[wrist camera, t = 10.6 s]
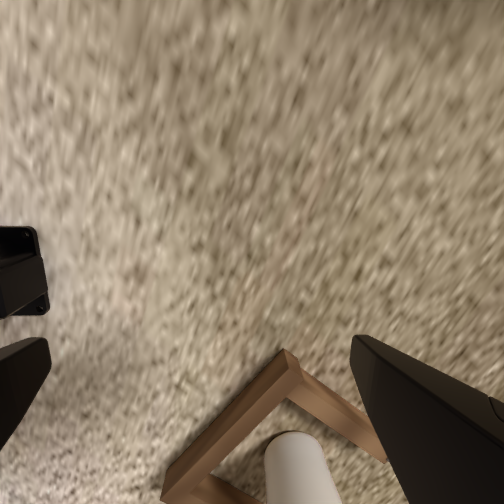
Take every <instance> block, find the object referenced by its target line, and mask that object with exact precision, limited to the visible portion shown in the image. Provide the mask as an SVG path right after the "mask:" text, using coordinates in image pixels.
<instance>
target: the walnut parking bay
mask: <svg viewBox="0 0 504 504" xmlns="http://www.w3.org/2000/svg"><path fill="white" fill-rule="evenodd" d="M285 397H287V398H288V399H290V400H291V401H293V402H294V403H296V404H297V405H299V406H300V407H302V408H303V409H304V410H306V411H307V412H309V413H310V414H312V415H313V416H315V417H316V418H318V419H319V420H320V421H322V422H323V423H325V424H326V425H328V426H329V427H331V428H332V429H334V430H335V431H337V432H338V433H339V434H341V435H342V436H344V437H345V438H347V439H348V440H350V441H351V442H353V443H354V444H356V445H357V446H358V447H360V448H361V449H363V450H364V451H366V452H367V453H369V454H370V455H372V456H373V457H375V458H376V459H377V460H379V461H380V462H382V463H383V464H385V463H386V462H387V461H388V462H389V460H388V458H387V455H386V453H385V451H384V449H383V447H382V445H381V443H380V441H379V438H378V436H377V434H376V432H375V430H374V428H373V426H372V424H371V421H370V419H369V417H368V416H367V415H365V414H364V413H363V412H361V411H360V410H358V409H357V408H356V407H354V406H353V405H351V404H350V403H349V402H347V401H346V400H345V399H343V398H342V397H340V396H339V395H338V394H336V393H335V392H333V391H332V390H331V389H329V388H328V387H327V386H325V385H324V384H322V383H321V382H320V381H318V380H317V379H316V378H314V377H313V376H311V375H310V374H309V373H307V372H306V371H304V370H303V369H302V368H300V365H299V362H298V359H297V358H296V357H295V356H294V355H292V354H291V353H289V352H288V351H287V350H285V349H283V350H282V351H281V352H280V353H279V354H278V355H277V356H276V357H275V358H274V359H273V360H272V361H271V362H270V363H269V364H268V365H267V366H266V367H265V368H264V369H263V370H262V371H261V373H260V374H259V375H258V376H257V377H256V378H255V379H254V380H253V381H252V382H251V383H250V384H249V385H248V386H247V387H246V388H245V389H244V390H243V391H242V392H241V393H240V394H239V396H238V397H237V398H236V399H235V400H234V401H233V402H232V403H231V404H230V405H229V406H228V407H227V408H226V409H225V410H224V411H223V412H222V413H221V414H220V415H219V416H218V417H217V418H216V420H215V421H214V422H213V423H212V424H211V425H210V426H209V427H208V428H207V429H206V430H205V431H204V432H203V433H202V434H201V435H200V436H199V437H198V438H197V439H196V440H195V441H194V442H193V444H192V445H191V446H190V447H189V448H188V449H187V450H186V451H185V452H184V453H183V454H182V455H181V456H180V457H179V458H178V459H177V460H176V461H175V462H174V463H173V464H172V465H171V466H170V468H169V469H168V470H167V472H166V476H165V480H164V484H163V489H162V493H161V497H160V501H162V502H164V503H166V504H263V503H261V502H259V501H257V500H256V499H254V498H252V497H250V496H249V495H247V494H245V493H243V492H242V491H240V490H238V489H236V488H234V487H233V486H231V485H229V484H227V483H226V482H224V481H222V480H220V479H219V478H217V477H215V476H213V475H212V474H210V472H211V471H212V470H213V469H214V468H215V467H216V466H217V465H218V464H219V463H220V462H221V461H222V460H223V459H224V458H225V457H226V456H227V455H228V454H229V453H230V452H231V451H232V450H233V449H234V448H235V447H236V446H237V445H238V444H239V443H240V442H241V441H242V440H243V439H244V438H245V437H246V436H247V435H248V434H249V433H250V432H251V431H252V430H253V429H254V428H255V427H256V426H257V425H258V424H259V423H260V422H261V421H262V420H263V419H264V418H265V417H266V416H267V415H268V414H269V413H270V412H271V411H272V410H273V409H274V408H275V407H276V406H277V405H278V404H279V403H280V402H281V401H282V400H283V399H284V398H285Z"/></svg>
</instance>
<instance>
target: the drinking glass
mask: <svg viewBox="0 0 504 504" xmlns="http://www.w3.org/2000/svg"><path fill="white" fill-rule="evenodd" d="M264 469H265V480H266V504H343V503H342V500H341V498H340V495H339V493H338V490H337V488H336V485H335V483H334V480H333V478H332V475H331V473H330V470H329V468H328V465H327V462H326V459H325V455H324V452H323V450H322V447H321V445H320V444H319V442H318V441H317V440H316V439H315V438H314V437H312V436H311V435H309V434H307V433H304V432H297V431H293V432H287V433H284V434H281V435H279V436H277V437H276V438H275V439H273V440H272V441H271V442H270V444H269V445H268V447H267V448H266V451H265V454H264Z"/></svg>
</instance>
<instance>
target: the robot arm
mask: <svg viewBox="0 0 504 504" xmlns="http://www.w3.org/2000/svg"><path fill="white" fill-rule="evenodd" d="M26 231H27V232H28V233H29V237H28V236H27V235H26V234H25V232H26ZM47 290H48V287H47V281H46V276H45V270H44V264H43V259H42V257H41V254H40V248H39V242H38V237H37V232H36V230H35V229H34V228H32V227H30V226H0V320H1V319H5V318H7V317H8V316H15V315H44V314H45V313H47V312H48V311H49V310H50V304H49V298H48V292H47ZM39 306H41V307H42V308H43V310H42V309H41V308H40V307H39ZM51 365H52V362H51V356H50V351H49V345H48V341H47V340H46V339H45V338H43V337H31V338H27V339H24V340H21V341H19V342H16V343H13V344H11V345H8V346H5V347H3V348H0V451H1V449H2V448H3V446H4V445H5V444H6V442H7V441H8V439H9V438H10V436H11V435H12V434H13V432H14V431H15V429H16V428H17V426H18V425H19V423H20V422H21V420H22V418H23V417H24V415H25V414H26V412H27V410H28V408H29V407H30V405H31V403H32V401H33V400H34V398H35V396H36V394H37V393H38V391H39V389H40V387H41V386H42V384H43V382H44V380H45V379H46V377H47V375H48V374H49V372H50V369H51ZM350 367H351V370H352V372H353V375H354V378H355V381H356V384H357V387H358V390H359V393H360V395H361V398H362V401H363V404H364V407H365V409H366V412H367V415H368V417H369V419H370V421H371V424H372V426H373V428H374V430H375V432H376V434H377V436H378V438H379V441H380V443H381V445H382V447H383V449H384V451H385V453H386V455H387V458H388V460H389V462H390V464H391V466H392V468H393V470H394V472H395V475H396V477H397V479H398V481H399V483H400V485H401V487H402V489H403V491H404V494H405V496H406V498H407V500H408V502H409V504H504V403H503V402H501V401H499V400H497V399H495V398H493V397H488V395H487V394H485V393H483V392H481V391H479V390H477V389H475V388H473V387H471V386H469V385H467V384H465V383H463V382H461V381H459V380H457V379H455V378H453V377H451V376H449V375H447V374H445V373H443V372H441V371H439V370H437V369H435V368H433V367H431V366H429V365H427V364H425V363H423V362H421V361H419V360H417V359H415V358H413V357H411V356H409V355H407V354H405V353H403V352H401V351H399V350H397V349H395V348H393V347H391V346H389V345H387V344H385V343H383V342H381V341H379V340H377V339H375V338H373V337H371V336H369V335H354V336H353V338H352V343H351V351H350Z"/></svg>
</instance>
